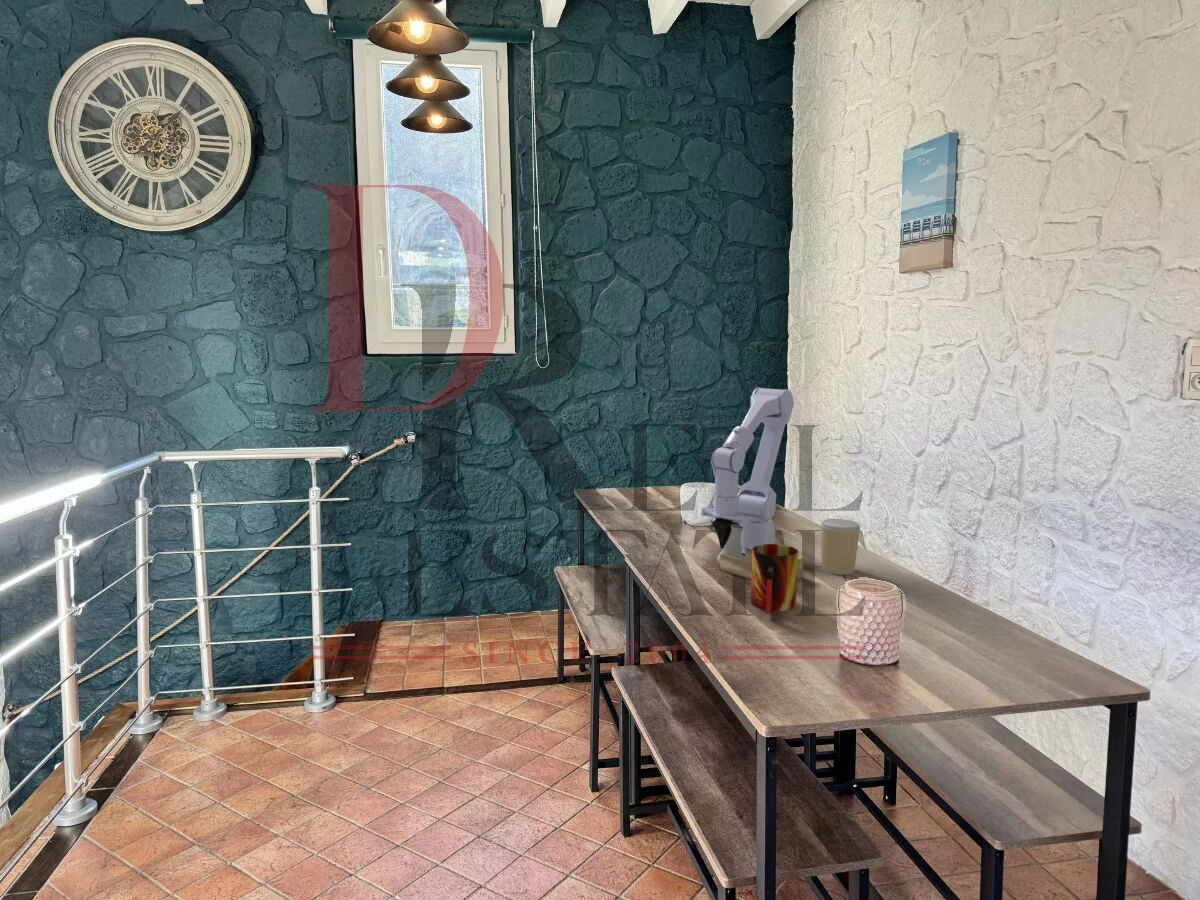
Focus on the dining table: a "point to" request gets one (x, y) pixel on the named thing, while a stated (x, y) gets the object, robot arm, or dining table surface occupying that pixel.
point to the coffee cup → (839, 545)
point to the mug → (774, 577)
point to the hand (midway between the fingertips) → (724, 548)
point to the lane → (749, 564)
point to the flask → (733, 543)
